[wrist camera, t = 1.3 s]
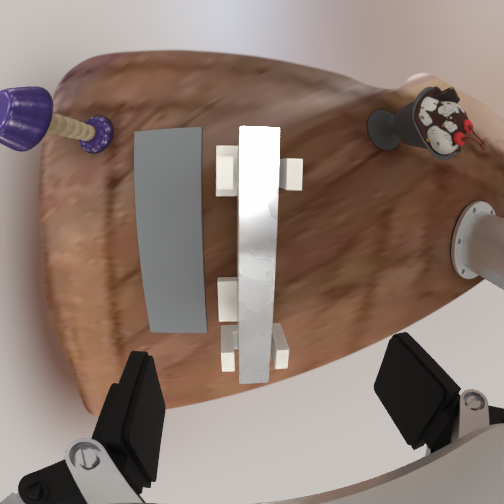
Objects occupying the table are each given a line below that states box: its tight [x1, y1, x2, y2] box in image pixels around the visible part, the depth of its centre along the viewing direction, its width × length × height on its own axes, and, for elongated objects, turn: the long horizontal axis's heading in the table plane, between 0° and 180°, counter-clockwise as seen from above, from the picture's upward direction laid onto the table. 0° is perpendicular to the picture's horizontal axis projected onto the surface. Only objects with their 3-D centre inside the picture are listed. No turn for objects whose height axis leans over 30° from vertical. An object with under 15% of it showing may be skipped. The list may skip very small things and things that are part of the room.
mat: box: [134, 127, 207, 333], centre depth 28 cm, size 7×23×1 cm, turn 179°
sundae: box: [367, 87, 485, 160], centre depth 20 cm, size 7×7×15 cm
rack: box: [216, 146, 303, 372], centre depth 24 cm, size 6×19×12 cm, turn 179°
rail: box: [237, 126, 280, 384], centre depth 20 cm, size 2×20×2 cm, turn 179°
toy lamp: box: [0, 87, 113, 154], centre depth 16 cm, size 5×5×17 cm
